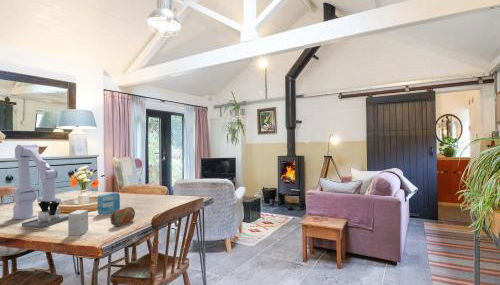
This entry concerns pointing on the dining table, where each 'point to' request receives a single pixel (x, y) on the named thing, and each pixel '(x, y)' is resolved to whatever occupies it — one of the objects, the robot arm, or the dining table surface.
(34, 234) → the dining table surface
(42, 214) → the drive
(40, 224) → the pin tray
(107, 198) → the blue box
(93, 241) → the dining table surface
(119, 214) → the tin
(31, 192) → the robot arm
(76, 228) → the small box
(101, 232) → the dining table surface
